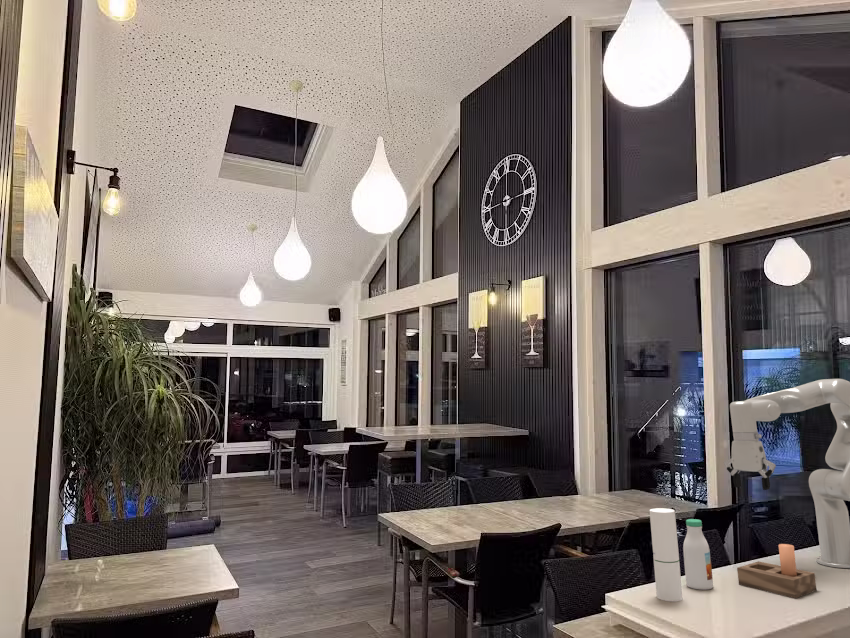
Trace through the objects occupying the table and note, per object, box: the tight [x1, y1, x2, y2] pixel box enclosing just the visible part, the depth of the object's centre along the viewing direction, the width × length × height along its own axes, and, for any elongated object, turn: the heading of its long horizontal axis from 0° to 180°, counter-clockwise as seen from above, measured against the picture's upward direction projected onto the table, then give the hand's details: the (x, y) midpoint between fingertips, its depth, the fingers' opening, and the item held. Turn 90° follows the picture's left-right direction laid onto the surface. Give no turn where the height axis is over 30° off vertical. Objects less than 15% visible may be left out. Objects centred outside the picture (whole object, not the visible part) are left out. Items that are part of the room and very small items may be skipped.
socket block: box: [736, 560, 817, 599], centre depth 184 cm, size 12×17×5 cm
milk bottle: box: [682, 518, 714, 591], centre depth 189 cm, size 8×8×20 cm
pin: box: [778, 543, 797, 577], centre depth 181 cm, size 4×4×12 cm
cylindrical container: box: [649, 507, 683, 602], centre depth 180 cm, size 7×7×25 cm
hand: (751, 488), depth 205 cm, fingers open, 9 cm apart
